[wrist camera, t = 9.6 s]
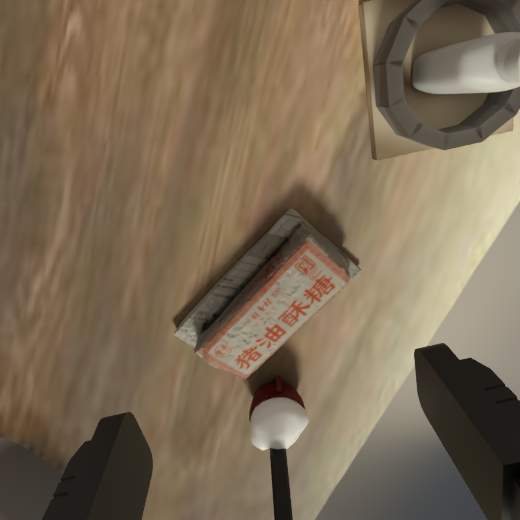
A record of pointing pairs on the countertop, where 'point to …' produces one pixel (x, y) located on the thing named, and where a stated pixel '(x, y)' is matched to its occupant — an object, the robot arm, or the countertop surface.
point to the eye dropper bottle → (470, 66)
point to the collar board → (401, 70)
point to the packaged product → (266, 296)
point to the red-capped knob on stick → (277, 435)
